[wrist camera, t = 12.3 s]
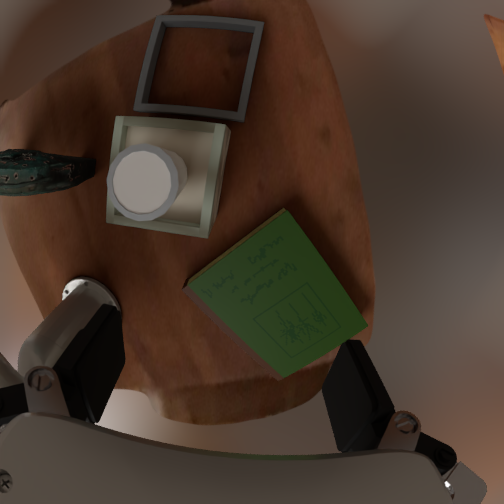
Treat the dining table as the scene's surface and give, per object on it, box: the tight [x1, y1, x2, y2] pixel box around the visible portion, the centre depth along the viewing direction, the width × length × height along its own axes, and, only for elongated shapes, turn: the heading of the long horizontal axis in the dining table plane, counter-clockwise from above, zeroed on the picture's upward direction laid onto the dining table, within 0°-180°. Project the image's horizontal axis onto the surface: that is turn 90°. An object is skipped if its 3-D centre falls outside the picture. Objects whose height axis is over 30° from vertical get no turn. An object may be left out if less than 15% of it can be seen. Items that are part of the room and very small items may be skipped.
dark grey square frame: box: [133, 15, 264, 122], centre depth 31 cm, size 15×15×2 cm
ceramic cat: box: [0, 149, 96, 196], centre depth 26 cm, size 20×6×20 cm, turn 80°
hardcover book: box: [182, 208, 368, 381], centre depth 44 cm, size 25×19×4 cm
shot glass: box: [107, 143, 188, 221], centre depth 25 cm, size 7×7×7 cm
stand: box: [106, 116, 231, 238], centre depth 32 cm, size 12×12×10 cm
